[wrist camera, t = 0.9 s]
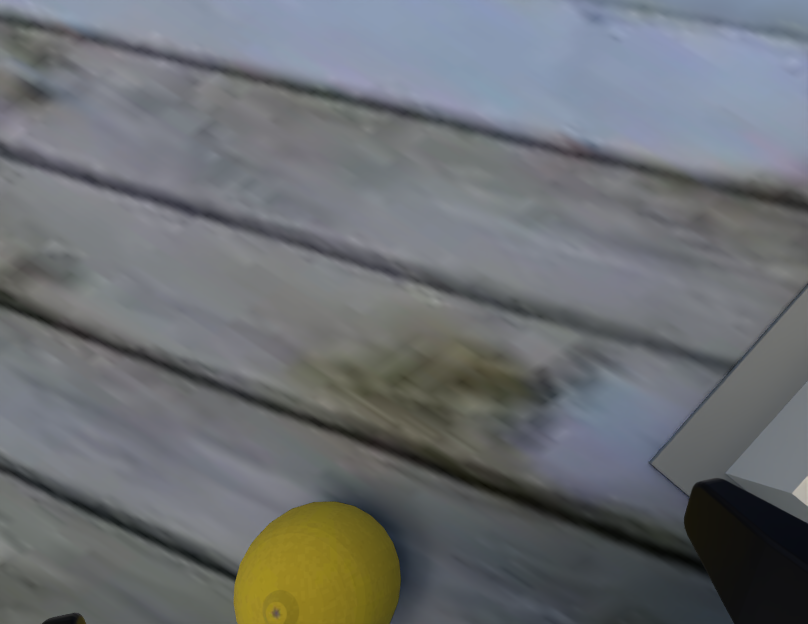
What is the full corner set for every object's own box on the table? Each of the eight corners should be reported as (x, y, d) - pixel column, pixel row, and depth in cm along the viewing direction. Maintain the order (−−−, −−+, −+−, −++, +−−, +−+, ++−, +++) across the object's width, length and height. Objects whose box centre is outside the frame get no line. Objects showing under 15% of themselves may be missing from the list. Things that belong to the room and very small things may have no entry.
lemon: (441, 599, 26) (393, 674, 18) (321, 650, 27) (227, 743, 19) (387, 469, 27) (321, 488, 20) (274, 522, 28) (168, 560, 20)
